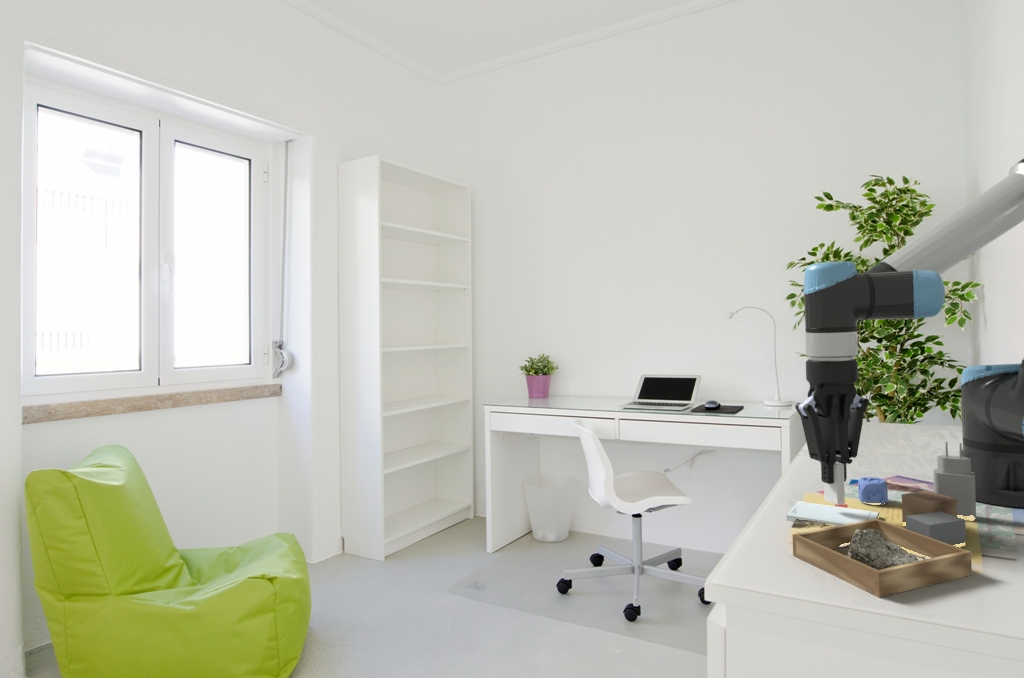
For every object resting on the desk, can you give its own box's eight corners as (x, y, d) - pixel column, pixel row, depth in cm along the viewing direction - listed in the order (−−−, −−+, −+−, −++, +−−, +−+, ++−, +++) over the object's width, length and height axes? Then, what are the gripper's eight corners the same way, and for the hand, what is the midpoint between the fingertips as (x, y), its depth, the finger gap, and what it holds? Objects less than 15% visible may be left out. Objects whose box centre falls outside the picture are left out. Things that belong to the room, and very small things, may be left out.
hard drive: (786, 514, 103) (872, 526, 95) (797, 500, 109) (879, 510, 102) (786, 524, 103) (873, 536, 95) (798, 509, 109) (879, 520, 102)
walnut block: (926, 521, 99) (925, 490, 99) (957, 531, 95) (956, 498, 94) (902, 525, 98) (901, 494, 98) (932, 536, 93) (931, 503, 93)
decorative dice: (858, 498, 112) (857, 476, 112) (884, 499, 111) (883, 477, 110) (861, 505, 108) (860, 482, 108) (888, 506, 107) (887, 483, 107)
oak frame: (876, 538, 93) (875, 518, 93) (971, 575, 80) (971, 551, 80) (793, 555, 89) (792, 534, 89) (879, 597, 75) (878, 572, 75)
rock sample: (931, 567, 74) (881, 504, 80) (875, 599, 77) (830, 536, 83) (954, 578, 80) (906, 519, 86) (901, 608, 83) (858, 549, 89)
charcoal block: (941, 537, 92) (940, 511, 92) (965, 547, 89) (965, 519, 88) (906, 543, 91) (905, 516, 91) (930, 553, 87) (929, 524, 87)
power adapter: (935, 511, 103) (933, 439, 103) (976, 516, 100) (974, 442, 100) (934, 516, 101) (932, 443, 100) (976, 521, 98) (974, 446, 97)
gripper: (844, 354, 106) (847, 490, 108) (781, 359, 103) (785, 500, 104) (882, 356, 99) (885, 502, 100) (816, 362, 95) (820, 514, 96)
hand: (834, 501), depth 102 cm, fingers closed
